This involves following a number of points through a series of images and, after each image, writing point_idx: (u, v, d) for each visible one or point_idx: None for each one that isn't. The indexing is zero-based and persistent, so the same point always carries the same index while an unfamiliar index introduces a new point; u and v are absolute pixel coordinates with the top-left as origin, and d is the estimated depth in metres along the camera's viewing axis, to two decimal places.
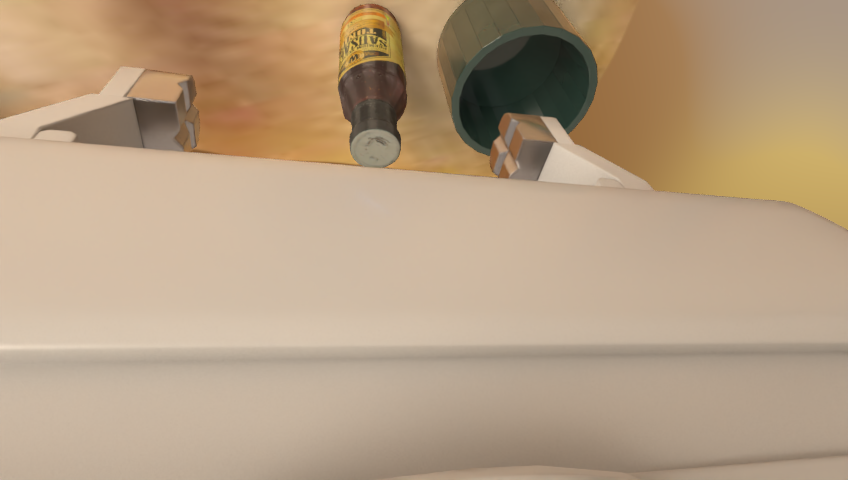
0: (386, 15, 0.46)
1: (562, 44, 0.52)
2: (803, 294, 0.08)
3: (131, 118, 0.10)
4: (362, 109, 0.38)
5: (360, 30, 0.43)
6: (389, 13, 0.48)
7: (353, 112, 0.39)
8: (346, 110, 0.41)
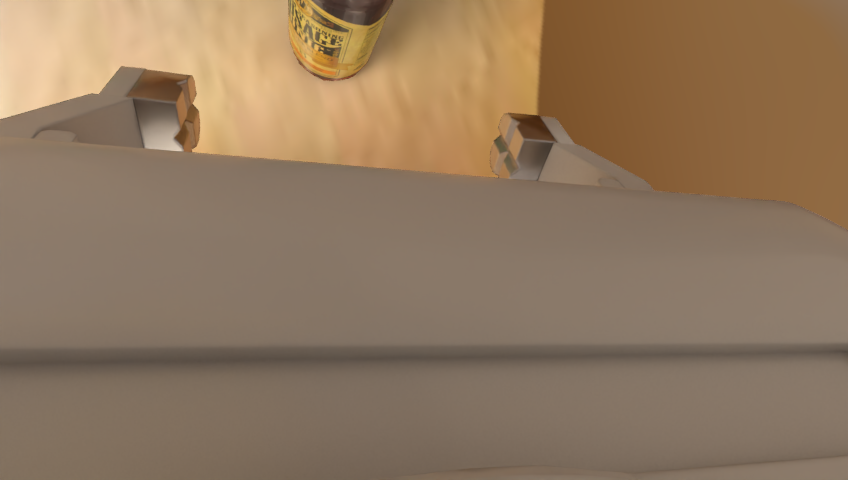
0: None
1: None
2: (803, 294, 0.08)
3: (131, 118, 0.10)
4: None
5: (292, 22, 0.30)
6: None
7: None
8: None
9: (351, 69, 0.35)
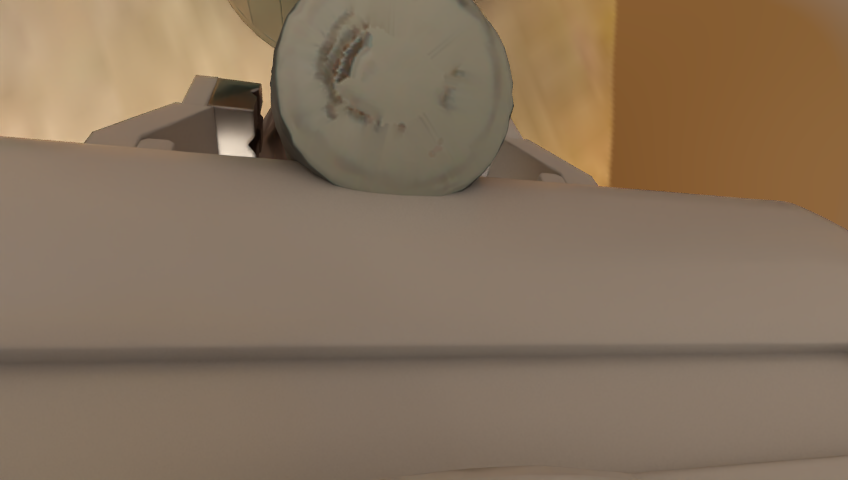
0: None
1: None
2: (803, 294, 0.08)
3: (211, 126, 0.10)
4: None
5: None
6: None
7: None
8: None
9: None
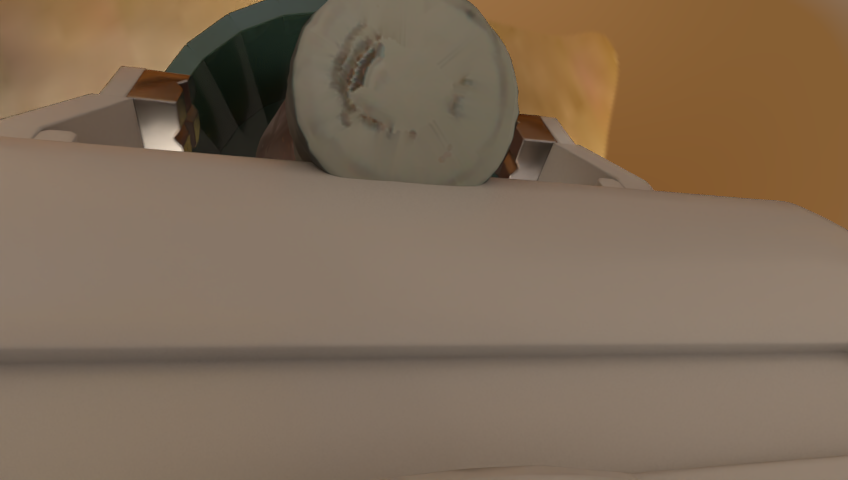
0: None
1: None
2: (803, 294, 0.08)
3: (131, 118, 0.10)
4: None
5: None
6: None
7: None
8: None
9: None
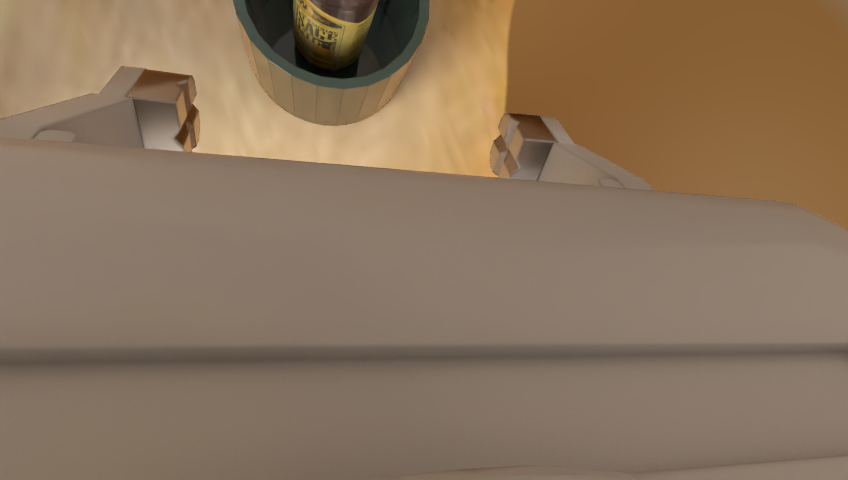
0: None
1: None
2: (803, 294, 0.08)
3: (131, 118, 0.10)
4: None
5: (296, 22, 0.37)
6: None
7: None
8: None
9: (345, 61, 0.41)
